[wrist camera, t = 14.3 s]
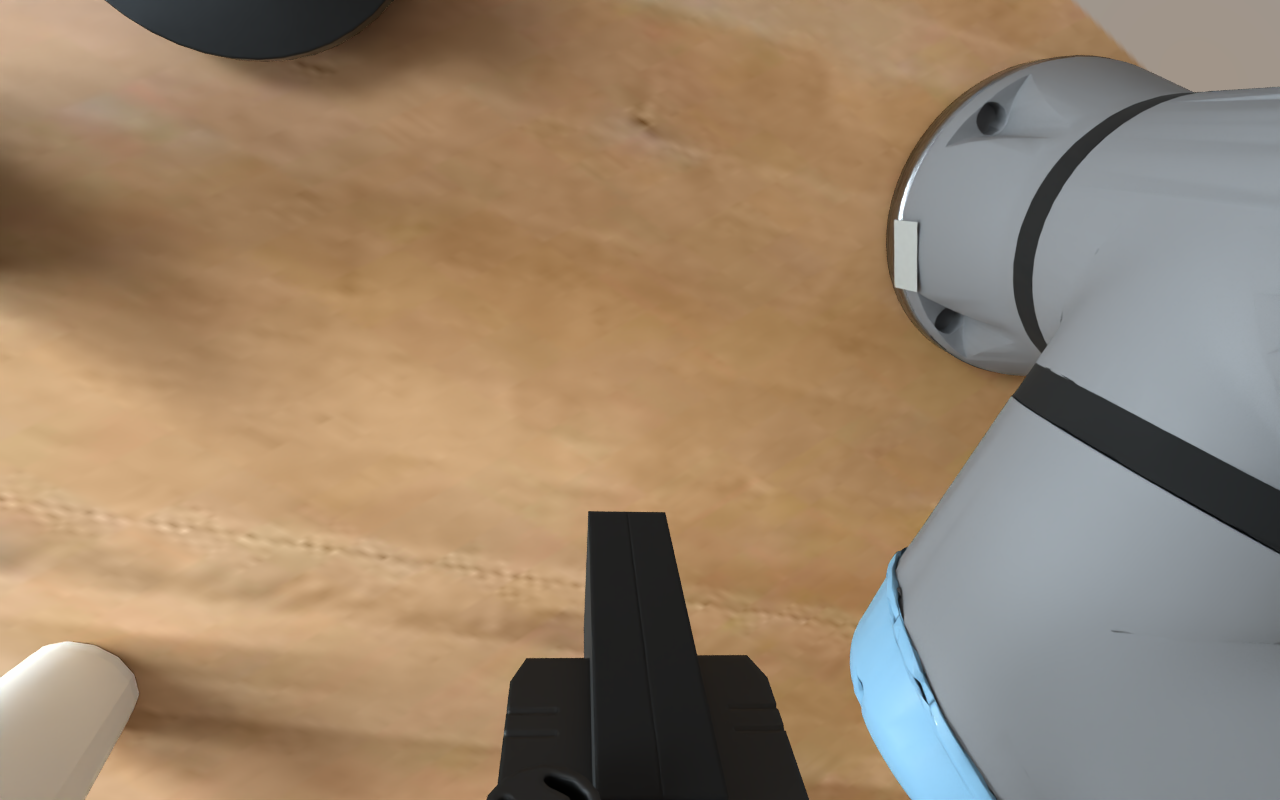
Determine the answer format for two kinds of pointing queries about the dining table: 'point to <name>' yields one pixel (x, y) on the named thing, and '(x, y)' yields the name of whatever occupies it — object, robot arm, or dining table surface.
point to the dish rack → (254, 24)
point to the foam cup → (61, 720)
